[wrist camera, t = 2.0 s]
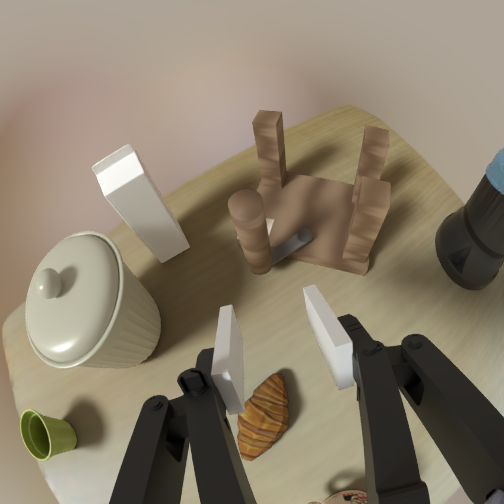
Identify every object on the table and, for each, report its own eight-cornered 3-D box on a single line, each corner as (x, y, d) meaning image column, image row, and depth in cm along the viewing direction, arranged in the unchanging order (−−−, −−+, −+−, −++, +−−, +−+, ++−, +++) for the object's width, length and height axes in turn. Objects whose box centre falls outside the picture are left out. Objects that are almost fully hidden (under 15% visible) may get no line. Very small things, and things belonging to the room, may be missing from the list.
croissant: (271, 465, 29) (268, 475, 24) (225, 450, 30) (216, 458, 26) (303, 380, 34) (305, 379, 30) (256, 367, 36) (252, 364, 32)
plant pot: (89, 459, 29) (56, 464, 22) (57, 456, 29) (26, 457, 22) (77, 412, 34) (43, 409, 27) (48, 412, 34) (16, 408, 26)
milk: (152, 240, 49) (89, 156, 30) (179, 224, 50) (126, 132, 31) (162, 264, 46) (91, 180, 27) (191, 247, 47) (133, 153, 28)
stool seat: (373, 199, 47) (393, 128, 33) (364, 275, 40) (396, 212, 26) (266, 177, 52) (256, 107, 38) (238, 246, 46) (214, 177, 31)
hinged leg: (303, 226, 42) (304, 156, 30) (317, 242, 41) (325, 174, 28) (244, 262, 41) (221, 199, 28) (256, 280, 39) (238, 222, 26)
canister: (153, 402, 35) (51, 395, 16) (78, 351, 40) (-11, 313, 22) (197, 300, 42) (130, 226, 24) (118, 268, 47) (47, 200, 29)
